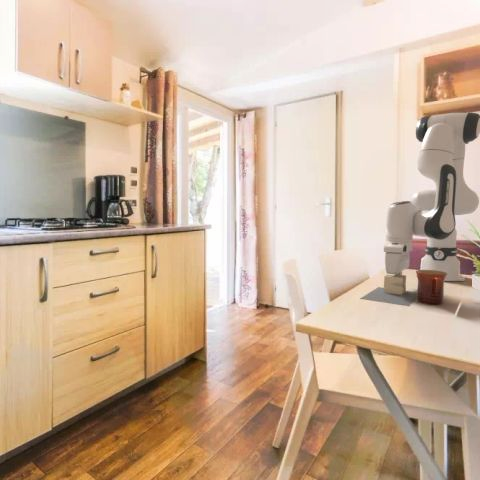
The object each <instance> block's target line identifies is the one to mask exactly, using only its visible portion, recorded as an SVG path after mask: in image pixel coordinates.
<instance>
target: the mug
mask: <svg viewBox="0 0 480 480" xmlns="http://www.w3.org/2000/svg"><path fill="white" fill-rule="evenodd" d="M415 273H416V274H417V276H416V277H417V291H416V292H417V302H419V303H420V304H424V305H430V306H431V305H432V306H439V305H443V301H444V298H445V297H444V293H445V288H444V286H445V282H446V281H445V278H446V276H447V273H446V272H442V271H435V270H420V269H418V270H415ZM416 274H415V275H416Z"/></svg>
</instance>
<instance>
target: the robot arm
mask: <svg viewBox="0 0 480 480" xmlns="http://www.w3.org/2000/svg"><path fill="white" fill-rule="evenodd" d="M479 135H480V114H479V113H477V112H470V111H469V112H467V113H466V112H449V113H442V114H433V115H432V114H430V115H425V116H422V117H421V118H420V119H419V120H417V124H416V126H415V138H416V139H417V140H418V141H419V142H420V143H421V144H420V145H421V146H420V149H419V152H418V157H417V160H416V161H417V163H416V164H417V170H418V171H419V173H420V175H422V176H423V177H424V178H427V179H430V180H432V181H433V182H434V183H435V189H425V190H420V191H416V192H414V194H413V195H412V196H411V198H410V200H402V201H397V202H392V203H391V204H390V205H389V206H388V208H387V213H386V214H387V215H386V230H387V232H386V235H385V244H384V246H383V253H384V265H385V272H386V275H387V274H396V275H403V271H405V270H406V269H408V268H409V266H410V252H412V251H413V236H414V237H415V236H416V237H422V238H426V246H425V248H424V252H425V255H424V256H423V257H422V258H421V261H420V269H419V270H435V271H442V272H446V273H447V276H446V278H445V281H444V282H465V281H466V278H465V277H464V276H463V274H461V272H462V270H461V261H460V260H459V259H458V258H457V255H458V247H457V229H456V224H457V223H456V216H463V215H469V214H473V213H474V212H475V211H476V210H477V209H478V208H479V204H480V198H479V195H478V194H477V193H476V192H475V191H474V190H472V189H471V188H470V187H469V186H468V184H467V183H466V181H465V177H464V163H465V156H466V145H468V144H469V143H470V142H473V141H475V140H476V139H477V138H478V137H479ZM415 276H416V277H417V274H415Z"/></svg>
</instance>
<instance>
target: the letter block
mask: <svg viewBox="0 0 480 480" xmlns="http://www.w3.org/2000/svg"><path fill="white" fill-rule="evenodd" d="M406 286H407V274H402V275H396V274H387V273H386V275H384V277H383V288H384V293H391V294H398V295H402V294H404V293H405V292H406V291H407V290H406V289H407V288H406Z"/></svg>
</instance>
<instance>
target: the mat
mask: <svg viewBox="0 0 480 480" xmlns="http://www.w3.org/2000/svg"><path fill="white" fill-rule="evenodd" d="M359 299H360V300H366V301H373V302H378V303H379V302H380V303H386V304H390V305H398V306H405V307H410V306H411V305H413V303H414V302H415V301H416V299H417V300H418V298H417V291H410V290H406V292H405V293H404V294H402V295H398V294H391V293H384V287H380V286H378V287H376V288H374V289H373V290H372V291H370V292H367V294H365V295H363V296H362V297H360V298H359Z"/></svg>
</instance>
